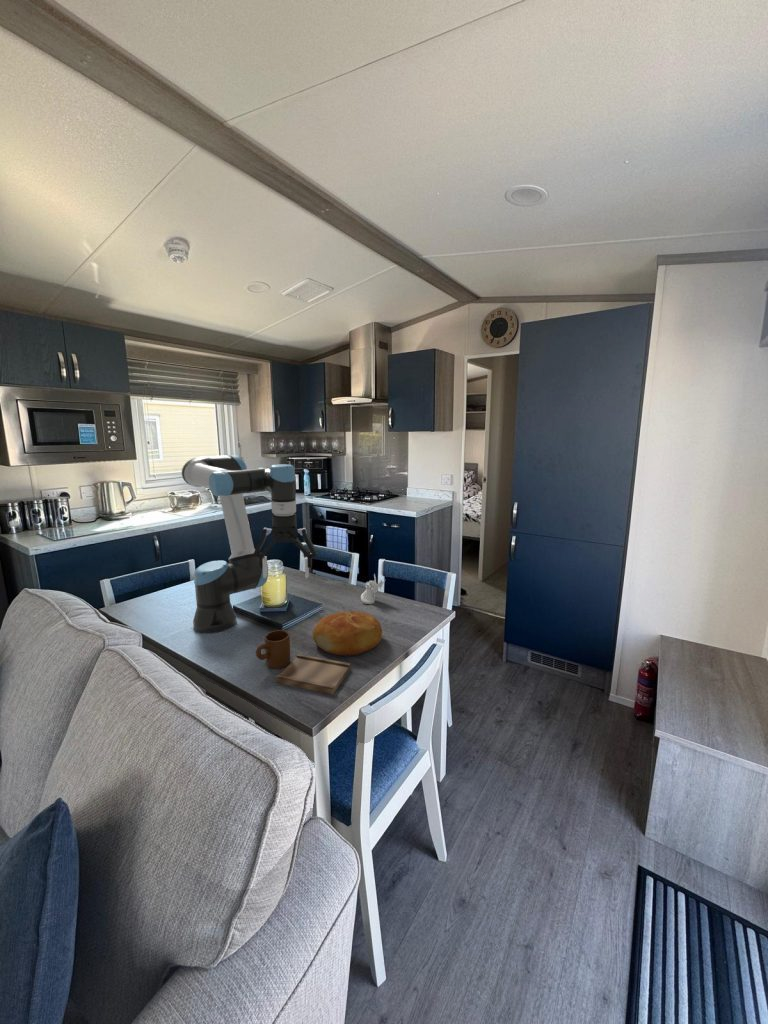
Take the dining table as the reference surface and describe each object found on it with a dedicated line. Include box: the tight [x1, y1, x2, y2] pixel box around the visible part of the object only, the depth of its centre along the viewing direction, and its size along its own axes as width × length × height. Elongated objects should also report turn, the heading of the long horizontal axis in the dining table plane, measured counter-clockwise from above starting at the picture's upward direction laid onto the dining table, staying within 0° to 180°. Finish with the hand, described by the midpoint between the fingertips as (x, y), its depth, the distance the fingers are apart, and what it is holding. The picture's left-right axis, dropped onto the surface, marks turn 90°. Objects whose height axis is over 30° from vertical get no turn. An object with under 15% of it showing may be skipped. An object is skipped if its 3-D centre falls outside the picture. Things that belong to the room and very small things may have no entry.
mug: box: [255, 630, 291, 670], centre depth 133 cm, size 12×8×9 cm, turn 145°
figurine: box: [360, 573, 386, 605], centre depth 181 cm, size 11×8×12 cm
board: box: [275, 653, 351, 695], centre depth 128 cm, size 18×13×2 cm
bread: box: [312, 610, 383, 656], centre depth 148 cm, size 23×23×10 cm
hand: (286, 576), depth 140 cm, fingers open, 13 cm apart
